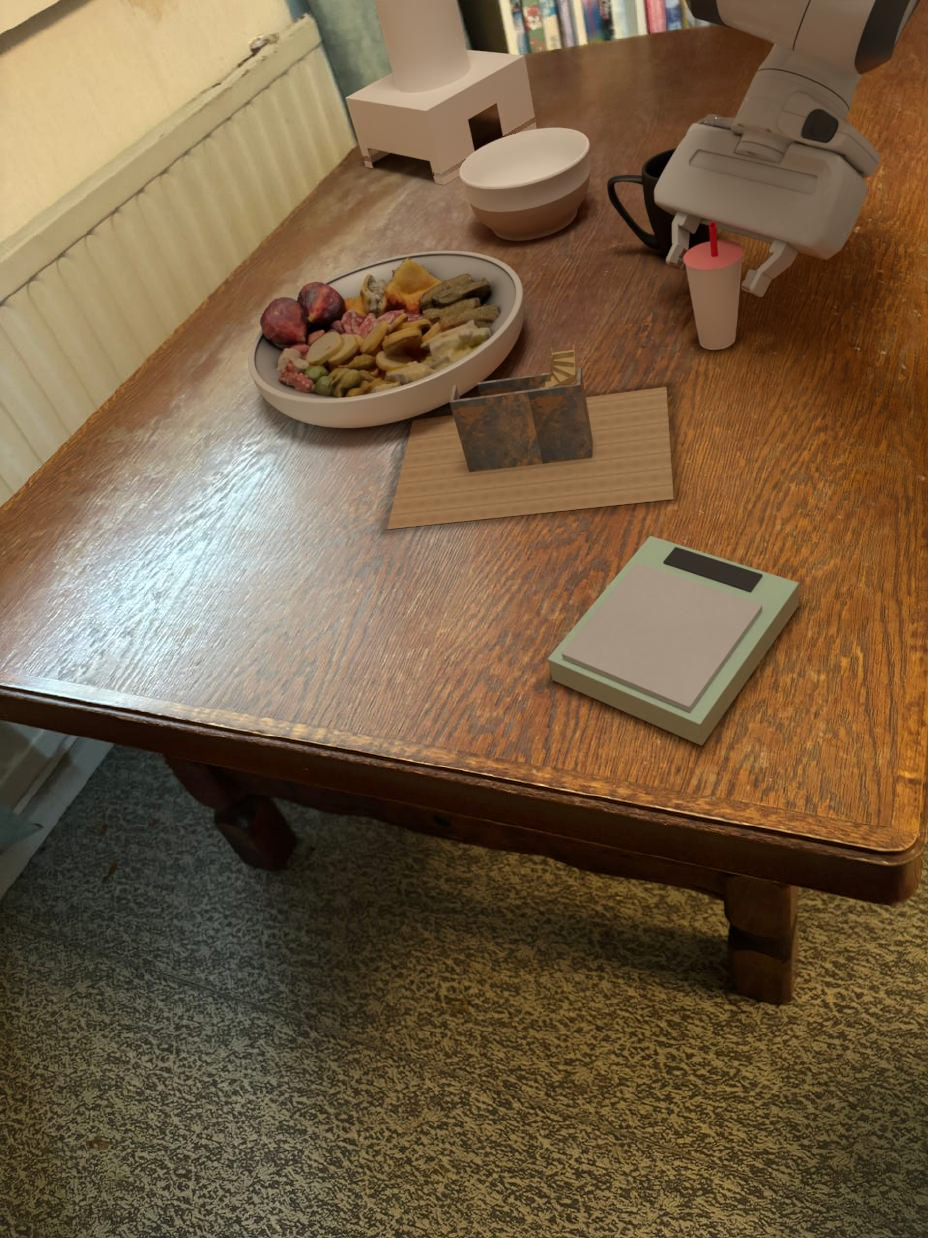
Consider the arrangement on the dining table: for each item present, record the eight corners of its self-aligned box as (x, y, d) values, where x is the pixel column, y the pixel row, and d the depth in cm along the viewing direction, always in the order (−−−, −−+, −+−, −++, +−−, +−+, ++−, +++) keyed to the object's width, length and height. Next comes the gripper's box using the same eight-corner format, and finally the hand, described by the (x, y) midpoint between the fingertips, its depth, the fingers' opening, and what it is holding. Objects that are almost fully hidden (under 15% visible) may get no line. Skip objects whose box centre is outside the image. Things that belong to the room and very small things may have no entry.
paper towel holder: (365, 166, 148) (297, -64, 127) (454, 115, 154) (404, -112, 133) (443, 184, 136) (383, -65, 115) (536, 128, 142) (495, -118, 121)
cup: (729, 359, 92) (725, 239, 83) (679, 350, 95) (670, 233, 86) (755, 329, 94) (753, 209, 86) (705, 321, 97) (698, 205, 89)
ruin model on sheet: (666, 386, 91) (657, 291, 84) (673, 499, 80) (664, 400, 73) (412, 420, 97) (385, 334, 90) (386, 529, 86) (353, 440, 79)
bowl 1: (557, 279, 109) (545, 211, 104) (491, 440, 90) (472, 367, 85) (324, 300, 120) (302, 239, 115) (220, 448, 101) (188, 383, 96)
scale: (799, 606, 69) (799, 576, 67) (702, 746, 63) (699, 718, 61) (652, 557, 76) (649, 529, 74) (552, 680, 70) (545, 653, 68)
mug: (622, 236, 113) (612, 154, 107) (727, 226, 109) (724, 140, 103) (610, 271, 108) (599, 187, 102) (720, 263, 104) (716, 175, 97)
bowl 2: (598, 180, 125) (590, 116, 120) (597, 237, 115) (588, 170, 109) (478, 202, 129) (465, 142, 124) (467, 260, 118) (451, 196, 113)
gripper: (679, 95, 90) (614, 241, 94) (866, 129, 77) (781, 297, 81) (715, 125, 95) (652, 264, 99) (898, 162, 81) (815, 320, 85)
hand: (711, 279), depth 90 cm, fingers open, 8 cm apart
